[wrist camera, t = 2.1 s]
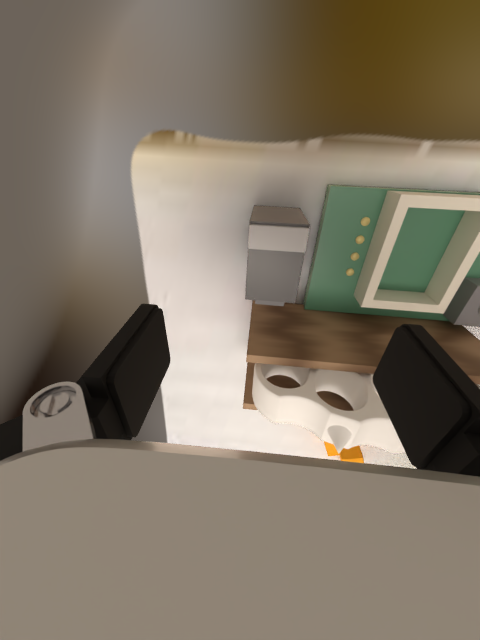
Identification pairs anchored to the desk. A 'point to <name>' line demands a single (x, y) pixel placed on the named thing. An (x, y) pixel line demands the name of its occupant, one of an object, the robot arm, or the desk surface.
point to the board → (398, 254)
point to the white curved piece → (327, 406)
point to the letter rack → (339, 344)
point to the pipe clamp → (345, 453)
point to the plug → (275, 254)
